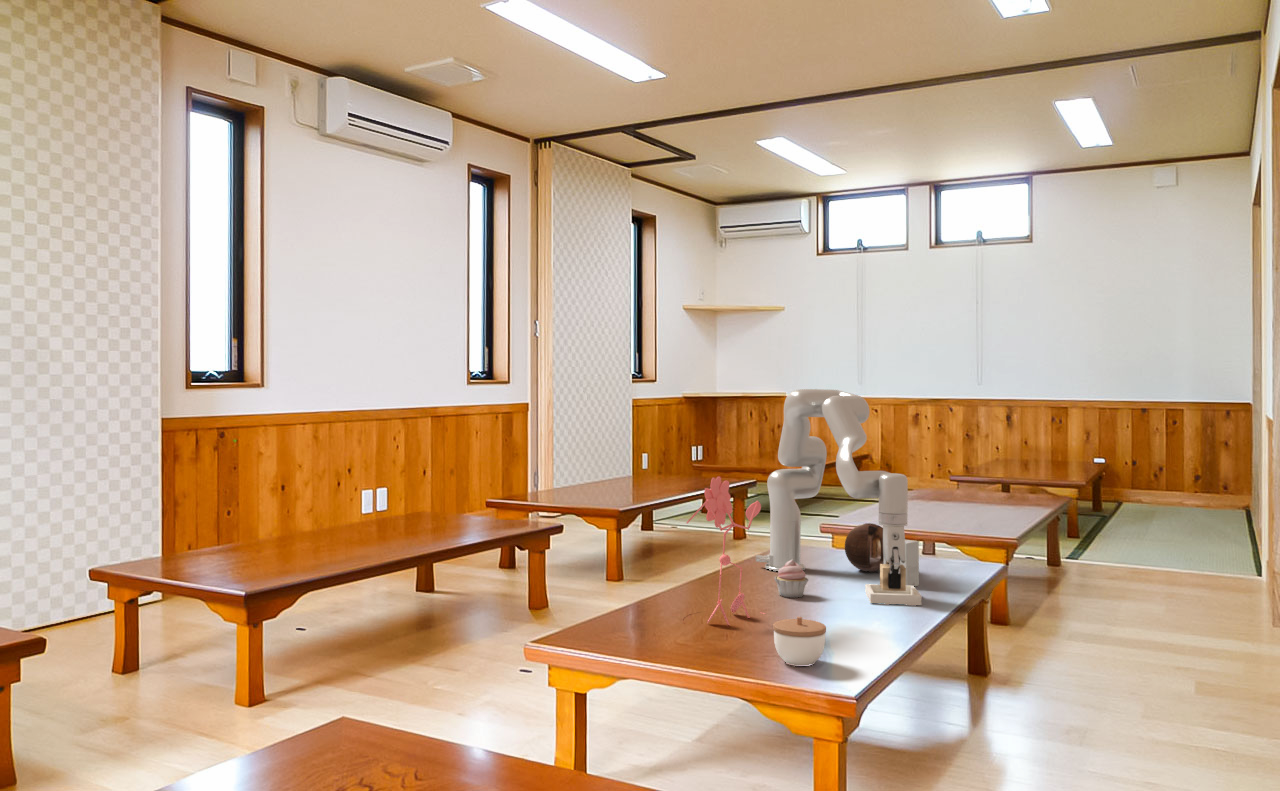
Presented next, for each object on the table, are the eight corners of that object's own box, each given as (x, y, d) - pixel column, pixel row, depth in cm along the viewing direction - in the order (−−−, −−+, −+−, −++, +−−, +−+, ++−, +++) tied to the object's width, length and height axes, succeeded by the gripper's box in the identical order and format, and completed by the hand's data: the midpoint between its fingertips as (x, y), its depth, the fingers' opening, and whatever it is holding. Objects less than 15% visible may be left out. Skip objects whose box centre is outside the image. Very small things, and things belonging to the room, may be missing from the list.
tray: (870, 603, 244) (870, 593, 244) (865, 593, 257) (865, 584, 257) (921, 605, 242) (921, 595, 242) (913, 595, 255) (913, 585, 255)
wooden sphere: (847, 565, 299) (847, 519, 299) (895, 568, 294) (895, 521, 294) (841, 573, 285) (841, 525, 285) (891, 577, 280) (892, 528, 280)
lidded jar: (767, 667, 186) (768, 620, 186) (779, 653, 196) (779, 609, 196) (821, 673, 183) (821, 625, 183) (829, 658, 193) (830, 613, 193)
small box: (919, 586, 267) (919, 541, 267) (906, 588, 263) (906, 543, 263) (895, 581, 274) (895, 537, 274) (882, 584, 270) (882, 539, 269)
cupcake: (793, 601, 246) (793, 563, 246) (767, 595, 254) (767, 558, 254) (815, 596, 252) (816, 560, 252) (789, 590, 260) (790, 555, 260)
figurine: (770, 613, 232) (768, 474, 233) (712, 633, 212) (710, 481, 212) (719, 605, 242) (717, 472, 242) (659, 624, 222) (657, 479, 222)
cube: (882, 590, 247) (882, 567, 247) (879, 585, 253) (880, 563, 253) (905, 591, 246) (905, 568, 246) (902, 586, 252) (902, 564, 252)
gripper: (912, 523, 240) (912, 593, 240) (902, 515, 257) (902, 580, 257) (882, 523, 241) (882, 592, 241) (875, 515, 258) (874, 579, 258)
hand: (892, 585), depth 249 cm, fingers closed on cube, 6 cm apart
